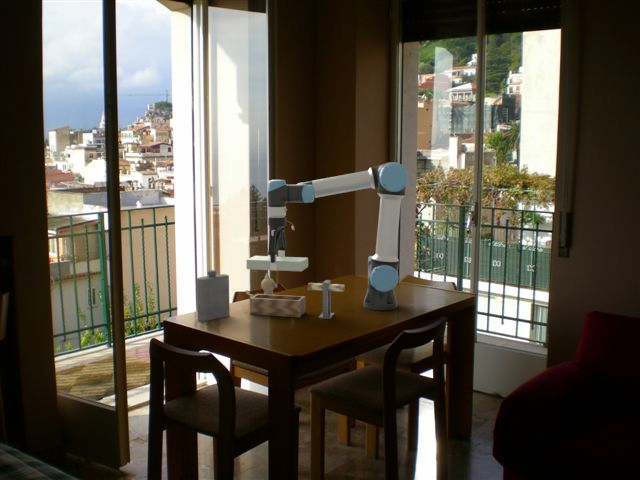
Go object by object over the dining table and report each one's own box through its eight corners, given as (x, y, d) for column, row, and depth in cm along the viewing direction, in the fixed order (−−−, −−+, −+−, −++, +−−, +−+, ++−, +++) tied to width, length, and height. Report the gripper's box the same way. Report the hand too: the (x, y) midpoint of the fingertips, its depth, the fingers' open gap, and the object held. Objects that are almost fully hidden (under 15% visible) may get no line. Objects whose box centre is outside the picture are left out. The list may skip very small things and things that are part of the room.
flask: (223, 313, 295) (223, 267, 292) (231, 316, 291) (231, 269, 288) (194, 319, 285) (192, 272, 282) (201, 322, 281) (200, 274, 278)
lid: (308, 266, 296) (308, 257, 295) (301, 271, 285) (301, 261, 284) (255, 264, 301) (255, 255, 301) (246, 269, 291) (246, 259, 290)
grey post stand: (334, 314, 294) (334, 279, 292) (330, 318, 286) (330, 283, 284) (323, 313, 295) (323, 279, 293) (318, 318, 287) (318, 282, 285)
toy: (275, 306, 308) (275, 273, 306) (243, 305, 311) (243, 272, 308) (279, 303, 314) (279, 271, 312) (247, 302, 317) (247, 270, 314)
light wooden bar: (344, 290, 289) (344, 284, 289) (343, 291, 286) (343, 285, 286) (309, 288, 293) (309, 282, 292) (307, 290, 290) (307, 284, 289)
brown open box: (305, 312, 298) (305, 296, 297) (299, 317, 289) (299, 301, 288) (256, 309, 303) (256, 293, 302) (250, 314, 294) (249, 298, 293)
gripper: (277, 219, 278) (278, 273, 281) (293, 214, 300) (293, 263, 303) (259, 219, 280) (260, 272, 283) (276, 213, 302) (277, 262, 305)
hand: (277, 267), depth 293 cm, fingers closed on lid, 11 cm apart
